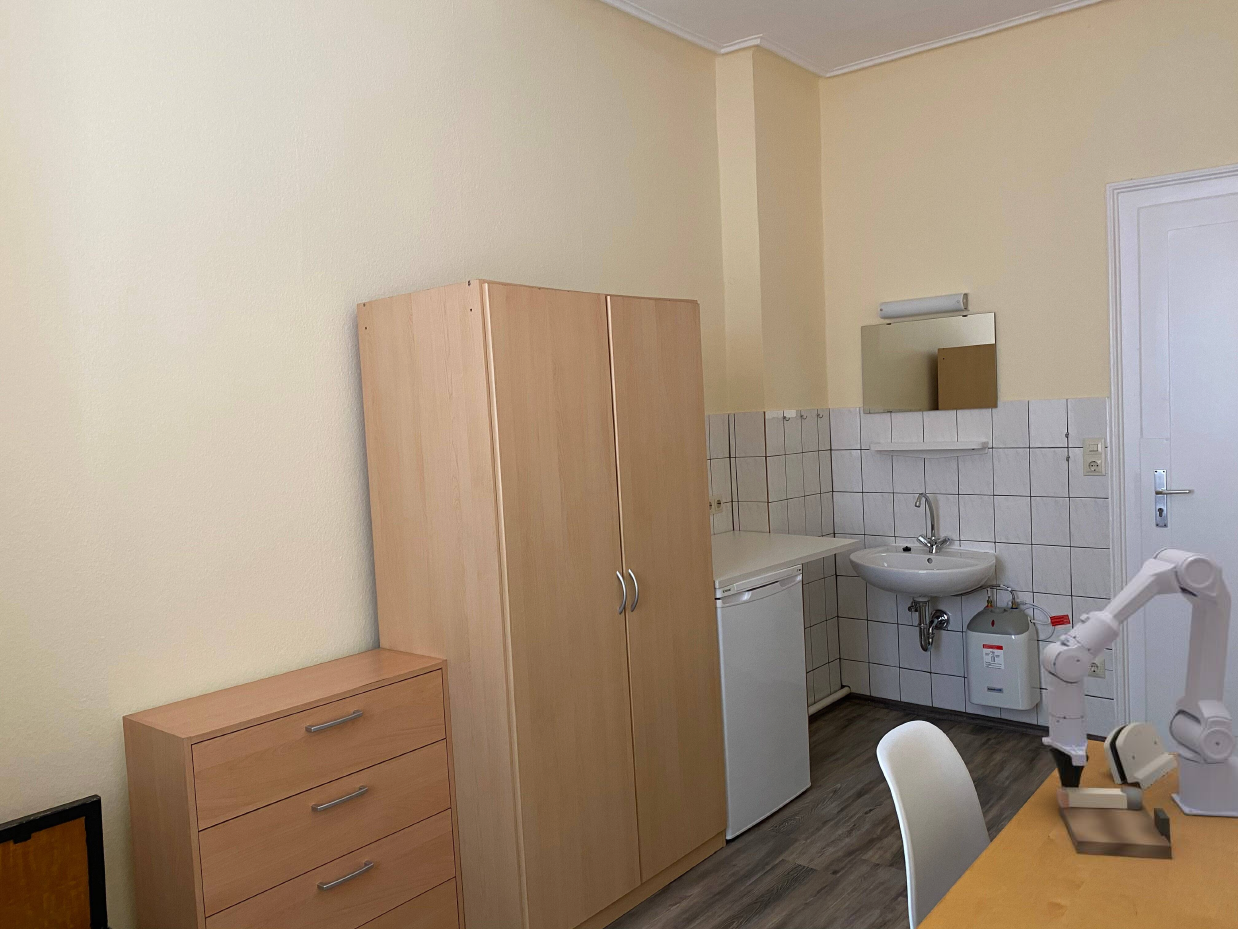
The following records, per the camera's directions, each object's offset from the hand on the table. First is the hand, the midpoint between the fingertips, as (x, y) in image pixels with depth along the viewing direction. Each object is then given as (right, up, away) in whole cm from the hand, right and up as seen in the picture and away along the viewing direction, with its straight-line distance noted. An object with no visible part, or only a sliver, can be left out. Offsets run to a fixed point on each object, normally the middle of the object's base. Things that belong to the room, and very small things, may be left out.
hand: (1070, 792), depth 158 cm
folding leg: (+4, -1, -3) cm, 5 cm away
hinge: (+21, -2, +16) cm, 26 cm away
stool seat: (+3, -4, -9) cm, 10 cm away
